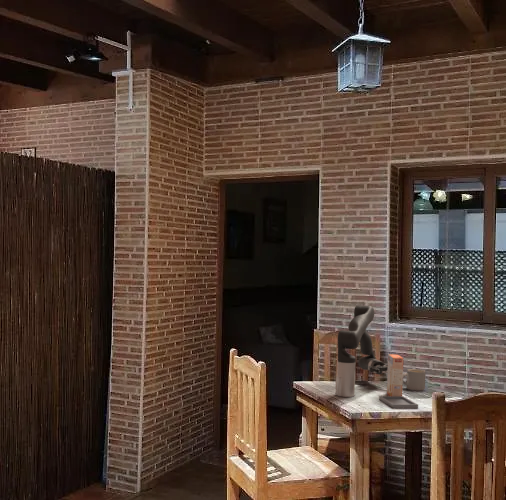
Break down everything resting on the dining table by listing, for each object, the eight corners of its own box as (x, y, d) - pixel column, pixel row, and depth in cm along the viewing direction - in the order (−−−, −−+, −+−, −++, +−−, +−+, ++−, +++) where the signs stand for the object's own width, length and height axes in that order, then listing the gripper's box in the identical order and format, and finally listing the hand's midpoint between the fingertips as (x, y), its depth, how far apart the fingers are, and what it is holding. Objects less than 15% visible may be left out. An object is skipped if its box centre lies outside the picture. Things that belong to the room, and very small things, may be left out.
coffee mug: (423, 387, 374) (424, 369, 374) (426, 390, 364) (426, 372, 364) (399, 386, 375) (400, 368, 376) (401, 389, 366) (401, 371, 366)
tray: (392, 408, 316) (392, 404, 316) (379, 399, 336) (379, 396, 336) (418, 408, 318) (418, 404, 318) (403, 399, 337) (403, 396, 337)
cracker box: (402, 399, 339) (404, 358, 340) (390, 398, 339) (392, 357, 340) (398, 393, 353) (399, 354, 354) (386, 393, 353) (387, 353, 354)
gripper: (364, 359, 375) (373, 364, 359) (389, 360, 377) (399, 364, 361) (364, 373, 375) (373, 378, 359) (388, 373, 377) (398, 378, 361)
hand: (386, 371), depth 360 cm, fingers open, 8 cm apart
